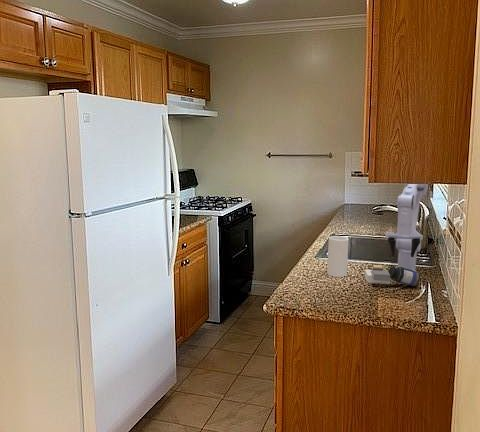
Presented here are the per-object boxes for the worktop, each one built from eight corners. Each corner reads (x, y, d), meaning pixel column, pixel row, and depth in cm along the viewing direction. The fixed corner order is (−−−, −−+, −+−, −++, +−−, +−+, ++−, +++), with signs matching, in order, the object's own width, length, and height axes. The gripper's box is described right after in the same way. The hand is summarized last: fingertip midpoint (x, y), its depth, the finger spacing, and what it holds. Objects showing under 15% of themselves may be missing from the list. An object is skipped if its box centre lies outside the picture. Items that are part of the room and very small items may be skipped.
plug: (372, 278, 197) (372, 264, 196) (380, 279, 197) (381, 265, 196) (373, 281, 194) (374, 267, 193) (382, 281, 193) (382, 267, 192)
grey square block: (371, 275, 190) (372, 270, 190) (387, 276, 189) (387, 270, 189) (373, 280, 184) (374, 274, 184) (389, 280, 183) (390, 274, 183)
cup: (334, 271, 208) (336, 235, 206) (350, 274, 202) (352, 238, 200) (323, 274, 202) (324, 237, 200) (339, 278, 197) (341, 240, 194)
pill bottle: (411, 281, 191) (385, 274, 190) (417, 268, 189) (391, 261, 188) (415, 289, 186) (389, 282, 185) (422, 277, 183) (395, 269, 182)
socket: (364, 276, 200) (365, 269, 200) (386, 277, 199) (387, 270, 199) (367, 282, 192) (367, 275, 191) (390, 283, 190) (390, 276, 190)
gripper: (388, 224, 190) (385, 257, 193) (425, 226, 188) (423, 259, 191) (385, 221, 197) (383, 253, 199) (421, 223, 195) (419, 255, 197)
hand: (402, 256), depth 195 cm, fingers open, 7 cm apart
